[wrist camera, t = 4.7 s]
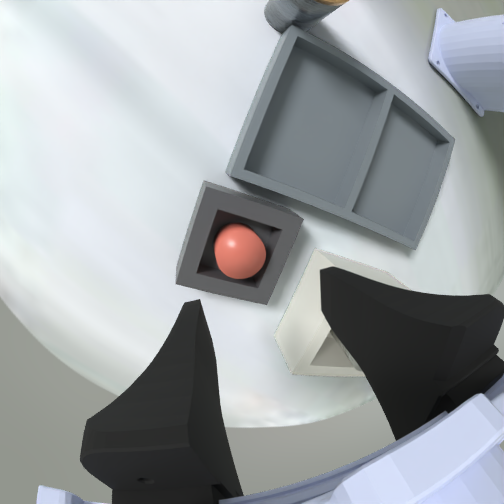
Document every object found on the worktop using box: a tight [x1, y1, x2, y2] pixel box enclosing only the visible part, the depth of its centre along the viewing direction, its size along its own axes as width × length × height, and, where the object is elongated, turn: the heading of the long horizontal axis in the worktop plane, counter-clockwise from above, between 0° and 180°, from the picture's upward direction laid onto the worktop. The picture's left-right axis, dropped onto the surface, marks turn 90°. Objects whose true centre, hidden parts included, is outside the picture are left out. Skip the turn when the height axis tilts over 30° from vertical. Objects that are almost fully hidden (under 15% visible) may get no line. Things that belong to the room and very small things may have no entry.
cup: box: [274, 248, 412, 377], centre depth 21 cm, size 8×8×5 cm
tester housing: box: [176, 181, 303, 305], centre depth 18 cm, size 6×6×2 cm
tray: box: [226, 25, 455, 250], centre depth 17 cm, size 16×10×2 cm, turn 69°
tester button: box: [213, 222, 266, 279], centre depth 17 cm, size 3×3×2 cm
